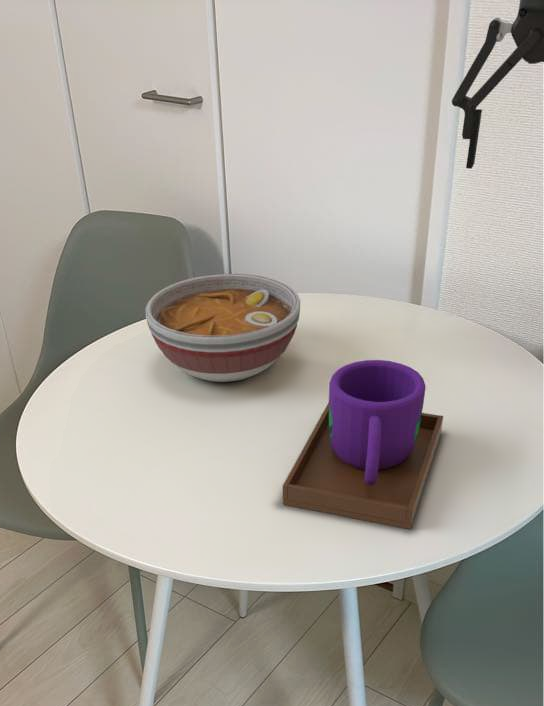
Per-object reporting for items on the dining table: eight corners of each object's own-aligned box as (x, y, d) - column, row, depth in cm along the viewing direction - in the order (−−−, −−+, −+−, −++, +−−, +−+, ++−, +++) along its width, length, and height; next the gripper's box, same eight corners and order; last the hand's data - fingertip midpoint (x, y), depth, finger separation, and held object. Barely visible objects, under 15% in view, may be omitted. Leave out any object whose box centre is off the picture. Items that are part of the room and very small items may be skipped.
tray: (440, 434, 100) (443, 415, 98) (410, 529, 85) (412, 510, 83) (329, 416, 104) (330, 398, 102) (282, 504, 90) (282, 485, 88)
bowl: (318, 341, 121) (320, 281, 115) (271, 412, 106) (269, 346, 99) (189, 324, 128) (184, 266, 122) (127, 389, 113) (116, 326, 106)
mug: (329, 424, 101) (332, 356, 95) (416, 428, 99) (425, 359, 93) (319, 504, 88) (322, 431, 82) (418, 510, 87) (429, 436, 80)
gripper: (678, -39, 85) (624, 165, 99) (453, -32, 92) (432, 157, 106) (682, -34, 80) (625, 181, 93) (443, -28, 87) (422, 171, 101)
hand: (522, 168), depth 100 cm, fingers open, 13 cm apart
